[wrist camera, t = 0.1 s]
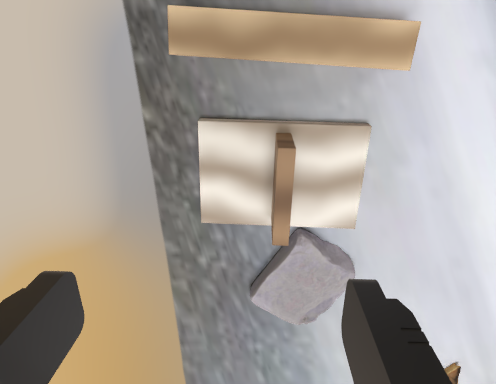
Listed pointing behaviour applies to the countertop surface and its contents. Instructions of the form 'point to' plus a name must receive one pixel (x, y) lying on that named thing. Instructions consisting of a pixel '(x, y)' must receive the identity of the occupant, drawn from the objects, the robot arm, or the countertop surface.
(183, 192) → the countertop surface
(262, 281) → the stone block
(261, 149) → the stand
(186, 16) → the oak batten
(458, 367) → the shard
